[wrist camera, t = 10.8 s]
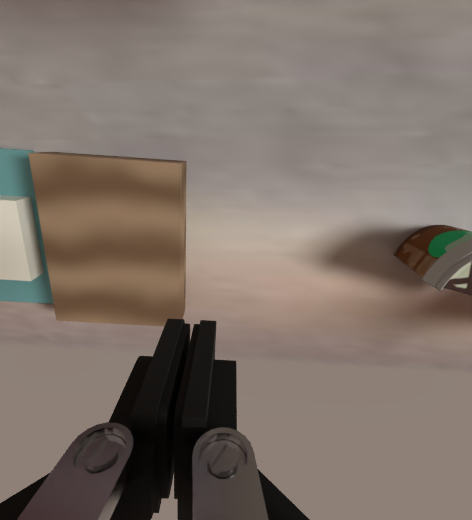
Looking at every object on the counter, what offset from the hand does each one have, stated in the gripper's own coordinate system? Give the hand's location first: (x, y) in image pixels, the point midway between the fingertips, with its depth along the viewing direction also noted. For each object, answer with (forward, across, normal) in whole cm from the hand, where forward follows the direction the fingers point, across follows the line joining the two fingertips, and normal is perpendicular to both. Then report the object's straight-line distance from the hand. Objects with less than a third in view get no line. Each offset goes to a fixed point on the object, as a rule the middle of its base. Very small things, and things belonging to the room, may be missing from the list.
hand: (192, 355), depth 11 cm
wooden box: (+25, +11, +4) cm, 28 cm away
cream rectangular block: (+24, +24, +4) cm, 34 cm away
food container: (+25, -26, +2) cm, 36 cm away
